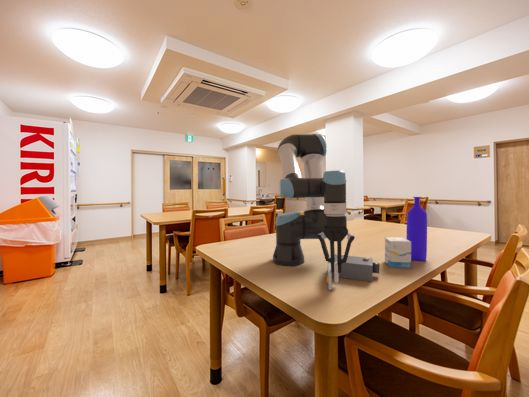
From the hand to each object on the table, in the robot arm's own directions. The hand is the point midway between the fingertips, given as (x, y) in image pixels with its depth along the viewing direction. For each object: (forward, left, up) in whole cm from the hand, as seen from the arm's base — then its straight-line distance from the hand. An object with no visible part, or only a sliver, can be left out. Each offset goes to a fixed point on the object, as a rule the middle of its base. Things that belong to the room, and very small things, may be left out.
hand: (336, 281), depth 84 cm
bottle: (+31, +48, -2) cm, 57 cm away
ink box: (+22, +35, -2) cm, 41 cm away
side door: (-3, +2, -2) cm, 4 cm away
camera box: (+5, +15, -2) cm, 15 cm away
